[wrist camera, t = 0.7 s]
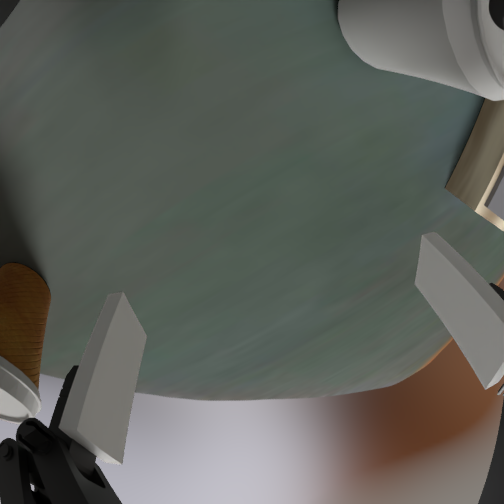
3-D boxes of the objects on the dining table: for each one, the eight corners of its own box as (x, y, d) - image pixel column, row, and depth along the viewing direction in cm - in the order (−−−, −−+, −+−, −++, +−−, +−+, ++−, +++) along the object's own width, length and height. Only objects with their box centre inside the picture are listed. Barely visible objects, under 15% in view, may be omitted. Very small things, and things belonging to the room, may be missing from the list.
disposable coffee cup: (-28, 274, 19) (-74, 370, 10) (15, 229, 19) (-50, 345, 9) (32, 332, 25) (9, 429, 16) (85, 302, 24) (62, 422, 15)
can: (395, -27, 12) (528, -34, 3) (427, 57, 17) (555, 96, 7) (313, -11, 13) (445, -51, 4) (355, 82, 18) (492, 131, 8)
